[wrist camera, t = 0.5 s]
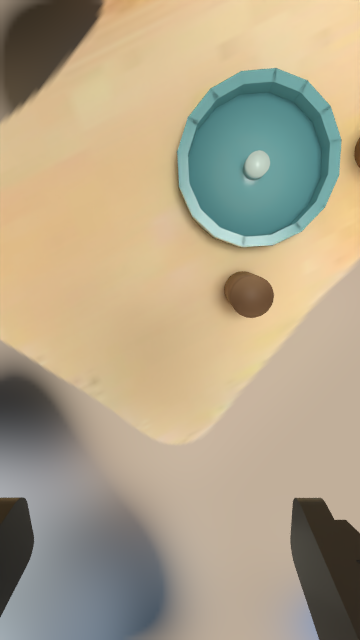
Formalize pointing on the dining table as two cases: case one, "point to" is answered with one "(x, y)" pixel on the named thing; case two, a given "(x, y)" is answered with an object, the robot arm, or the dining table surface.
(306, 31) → the dining table surface
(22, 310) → the dining table surface
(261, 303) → the walnut bead
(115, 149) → the dining table surface
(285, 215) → the groove tray
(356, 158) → the walnut bead
